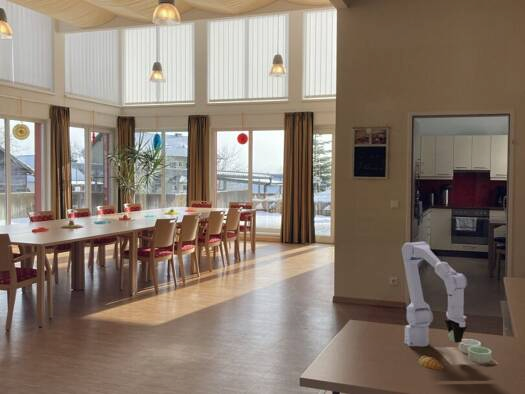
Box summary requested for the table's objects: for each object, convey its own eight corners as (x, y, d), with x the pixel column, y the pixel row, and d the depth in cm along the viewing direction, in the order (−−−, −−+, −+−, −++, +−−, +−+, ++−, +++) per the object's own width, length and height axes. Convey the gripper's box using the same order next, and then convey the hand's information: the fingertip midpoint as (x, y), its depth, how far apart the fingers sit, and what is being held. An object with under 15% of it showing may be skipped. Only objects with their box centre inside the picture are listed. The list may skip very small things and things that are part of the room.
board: (451, 367, 198) (451, 364, 198) (434, 349, 218) (434, 347, 218) (498, 366, 198) (498, 364, 198) (477, 349, 218) (477, 346, 218)
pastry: (448, 370, 196) (448, 360, 196) (436, 374, 192) (436, 364, 192) (427, 363, 204) (427, 353, 203) (416, 367, 200) (415, 357, 200)
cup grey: (463, 354, 209) (463, 345, 209) (455, 347, 217) (455, 339, 217) (483, 353, 209) (484, 345, 209) (475, 347, 217) (475, 338, 217)
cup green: (473, 363, 200) (473, 354, 200) (464, 355, 208) (464, 346, 208) (494, 362, 200) (494, 353, 200) (485, 355, 208) (485, 346, 208)
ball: (451, 344, 201) (451, 331, 201) (446, 340, 206) (446, 327, 206) (464, 344, 201) (464, 331, 201) (459, 340, 206) (459, 327, 206)
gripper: (473, 310, 195) (473, 346, 196) (458, 300, 210) (458, 333, 211) (454, 310, 195) (454, 346, 196) (441, 300, 210) (440, 334, 211)
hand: (455, 339), depth 203 cm, fingers closed on ball, 5 cm apart
